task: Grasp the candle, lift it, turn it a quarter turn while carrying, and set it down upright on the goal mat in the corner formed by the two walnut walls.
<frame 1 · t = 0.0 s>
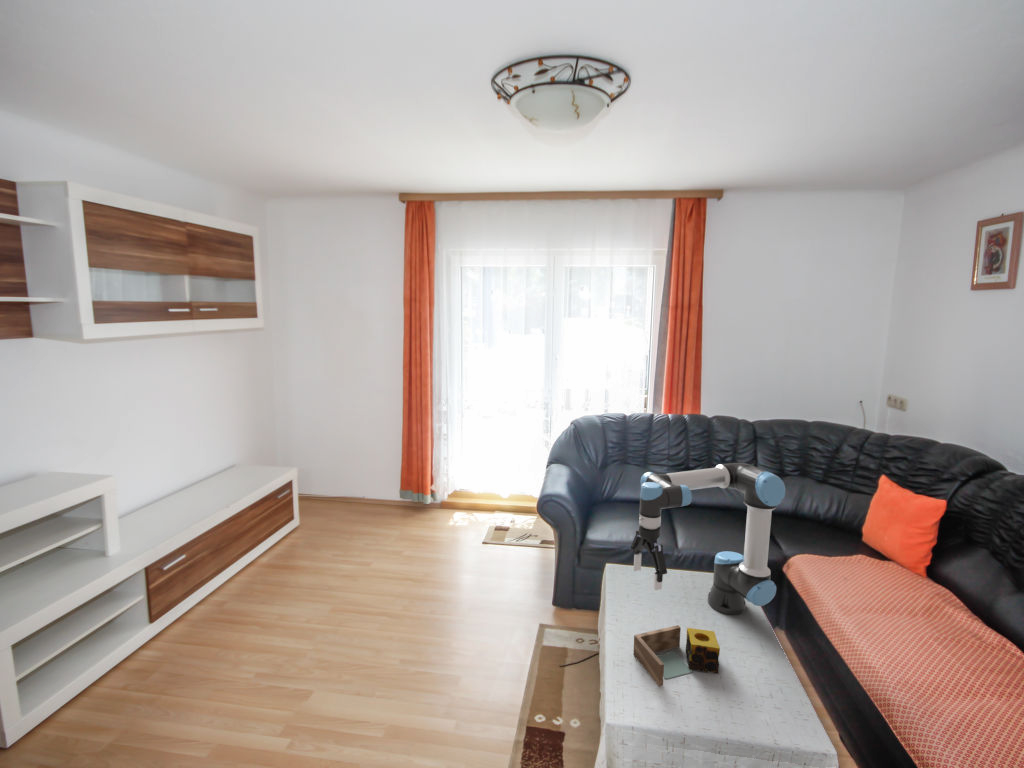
hand: (647, 579, 188), 28 cm above the table, fingers open, 13 cm apart
goal mat: (669, 665, 183), on the table
corner walls: (670, 664, 183), on the table
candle: (701, 663, 184), on the table, touching goal mat
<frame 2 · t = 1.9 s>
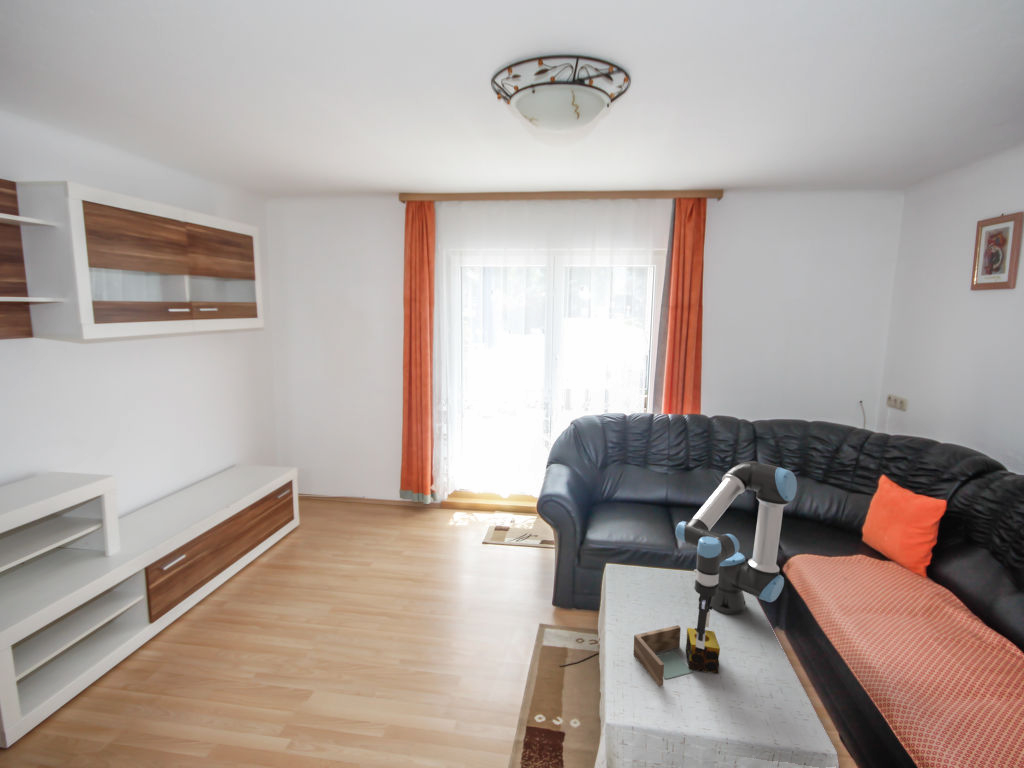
hand: (702, 636, 182), 11 cm above the table, fingers open, 13 cm apart
nothing on the table moved.
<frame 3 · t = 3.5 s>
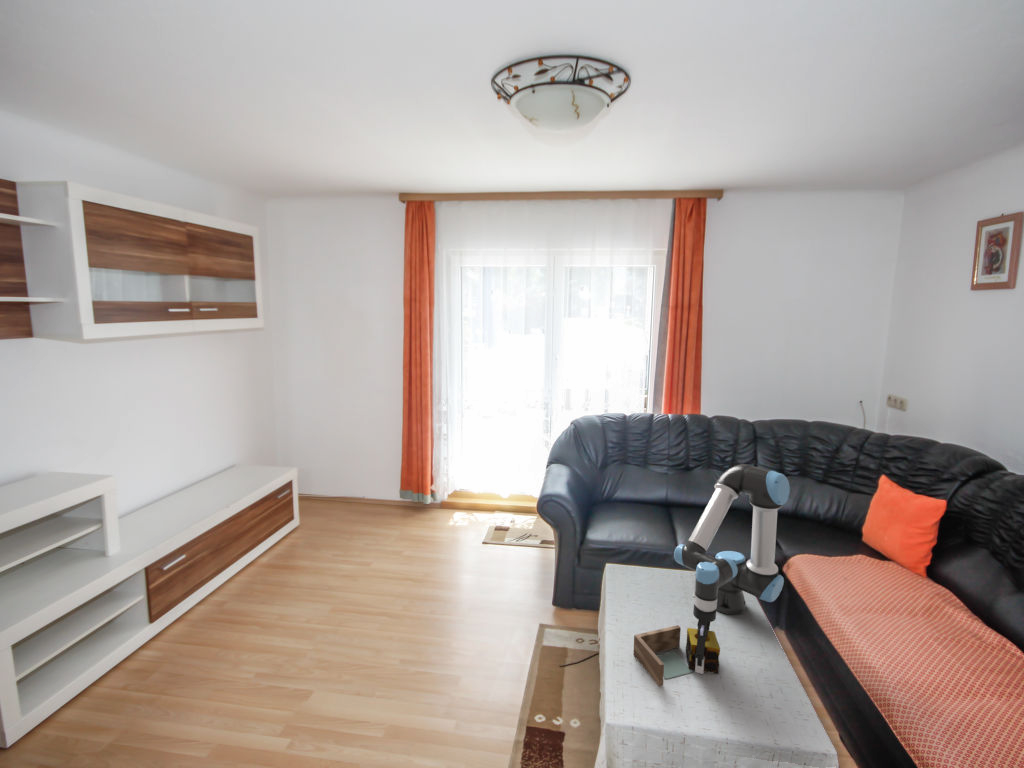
hand: (701, 661, 184), 1 cm above the table, fingers closed on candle, 11 cm apart
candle: (701, 663, 184), on the table, touching goal mat, gripper
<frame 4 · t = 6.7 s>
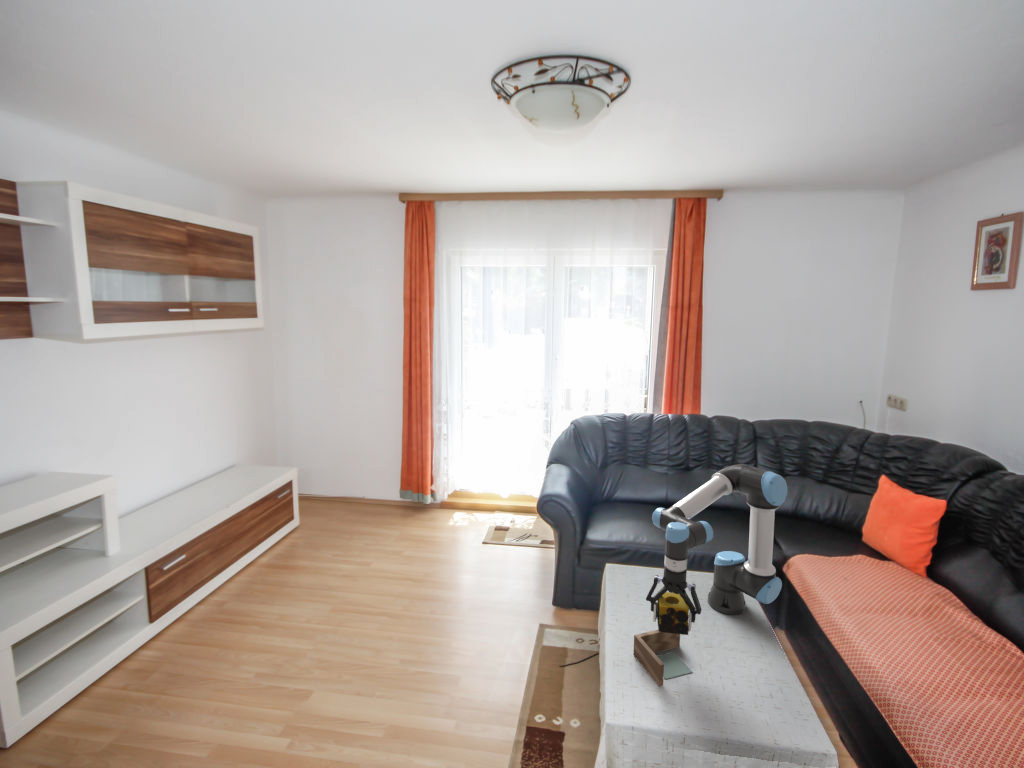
hand: (672, 624, 180), 16 cm above the table, fingers closed on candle, 11 cm apart
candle: (672, 626, 180), point 16 cm above the table, touching gripper
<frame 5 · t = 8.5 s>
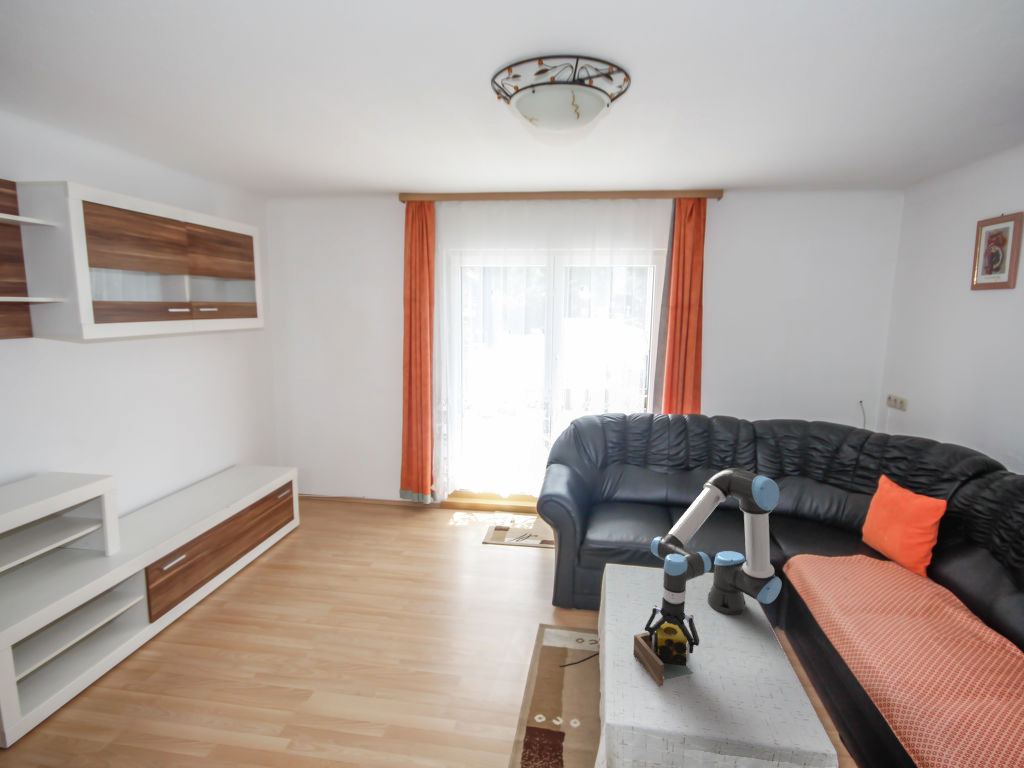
hand: (670, 654, 182), 4 cm above the table, fingers closed on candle, 11 cm apart
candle: (670, 656, 182), point 4 cm above the table, touching gripper
when the fingers open (2 cm above the table, at t = 10.1 s): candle drops 2 cm, resting on goal mat.
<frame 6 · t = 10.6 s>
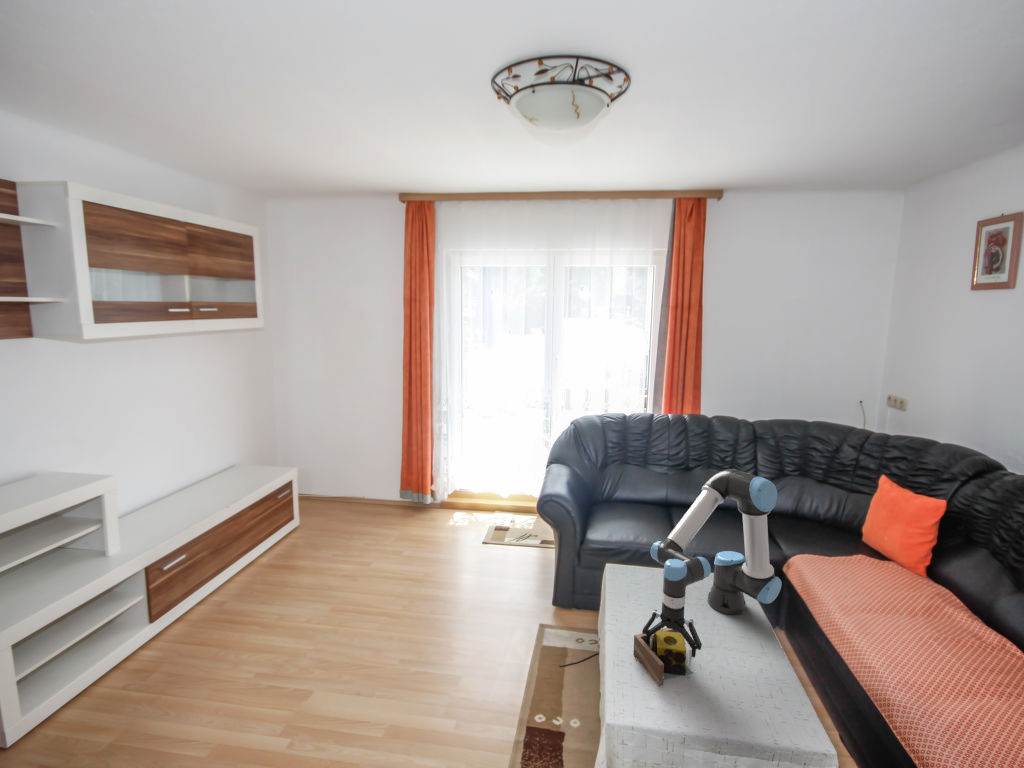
hand: (670, 657, 182), 3 cm above the table, fingers open, 13 cm apart
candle: (669, 665, 183), resting on goal mat
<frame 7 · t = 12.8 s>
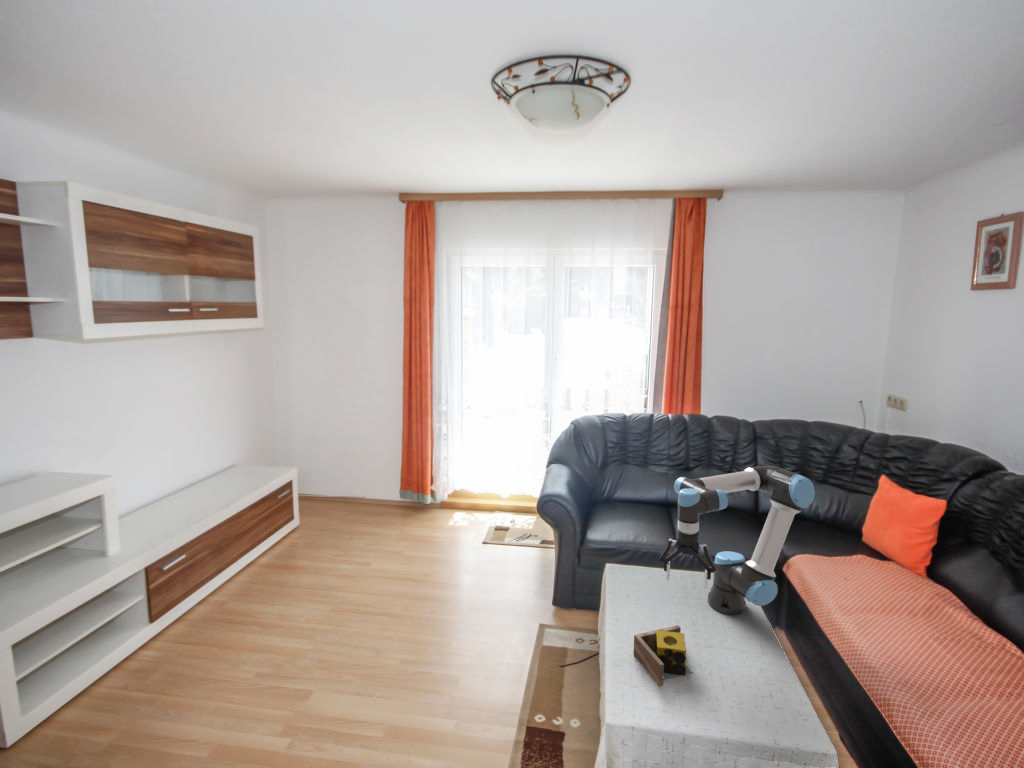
hand: (686, 582, 193), 24 cm above the table, fingers open, 13 cm apart
nothing on the table moved.
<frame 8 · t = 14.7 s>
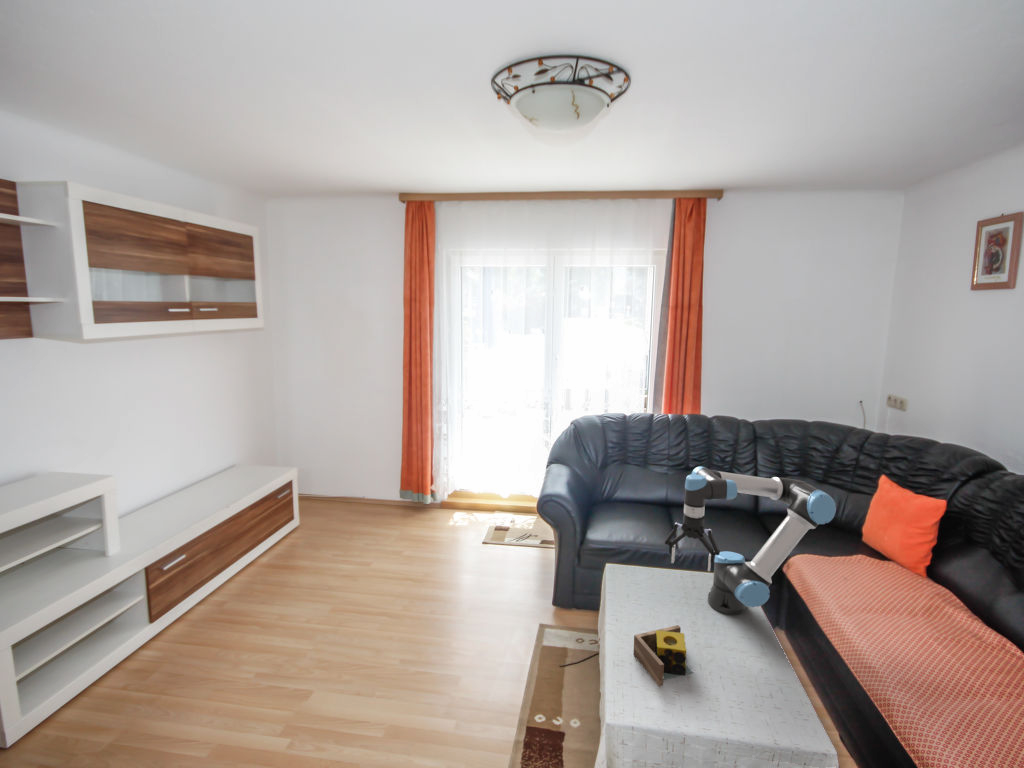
hand: (690, 565, 200), 27 cm above the table, fingers open, 13 cm apart
nothing on the table moved.
at the end: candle 0.0 cm from the goal mat (horizontally); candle tilted 0°; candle resting on goal mat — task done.
